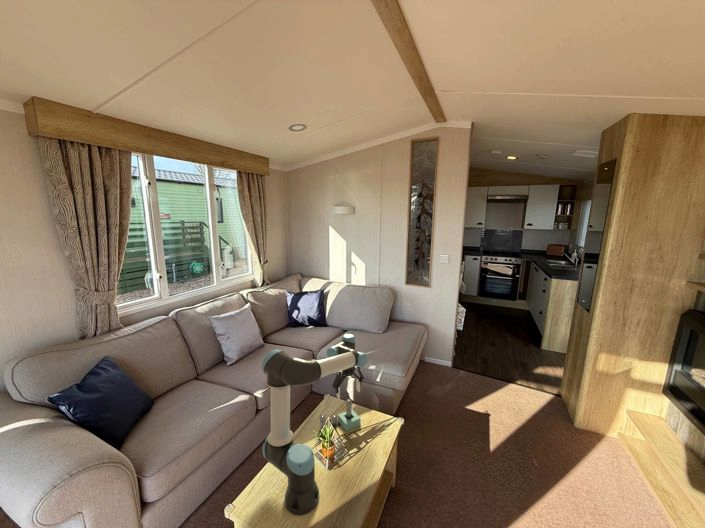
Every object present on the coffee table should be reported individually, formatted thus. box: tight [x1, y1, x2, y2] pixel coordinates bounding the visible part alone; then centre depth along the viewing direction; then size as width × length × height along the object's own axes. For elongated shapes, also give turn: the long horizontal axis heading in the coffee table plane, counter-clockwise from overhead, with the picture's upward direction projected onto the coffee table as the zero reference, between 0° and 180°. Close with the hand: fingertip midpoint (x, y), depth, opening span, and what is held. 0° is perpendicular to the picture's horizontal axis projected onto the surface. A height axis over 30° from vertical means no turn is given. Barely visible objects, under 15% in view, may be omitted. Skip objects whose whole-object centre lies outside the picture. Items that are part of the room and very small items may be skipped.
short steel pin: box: [330, 414, 338, 427], centre depth 181 cm, size 3×3×5 cm
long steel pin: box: [345, 398, 353, 420], centre depth 181 cm, size 3×3×15 cm
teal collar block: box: [337, 408, 362, 432], centre depth 182 cm, size 10×10×4 cm
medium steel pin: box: [319, 413, 326, 431], centre depth 176 cm, size 3×3×9 cm
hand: (348, 394), depth 178 cm, fingers open, 13 cm apart
